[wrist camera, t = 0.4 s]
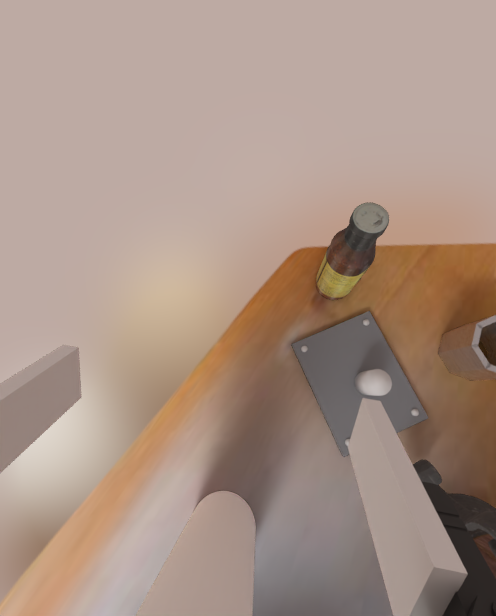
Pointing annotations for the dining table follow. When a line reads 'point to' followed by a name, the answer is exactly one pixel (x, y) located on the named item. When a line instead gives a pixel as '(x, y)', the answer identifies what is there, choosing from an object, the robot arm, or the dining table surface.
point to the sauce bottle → (351, 251)
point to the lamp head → (471, 350)
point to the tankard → (468, 514)
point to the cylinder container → (208, 563)
